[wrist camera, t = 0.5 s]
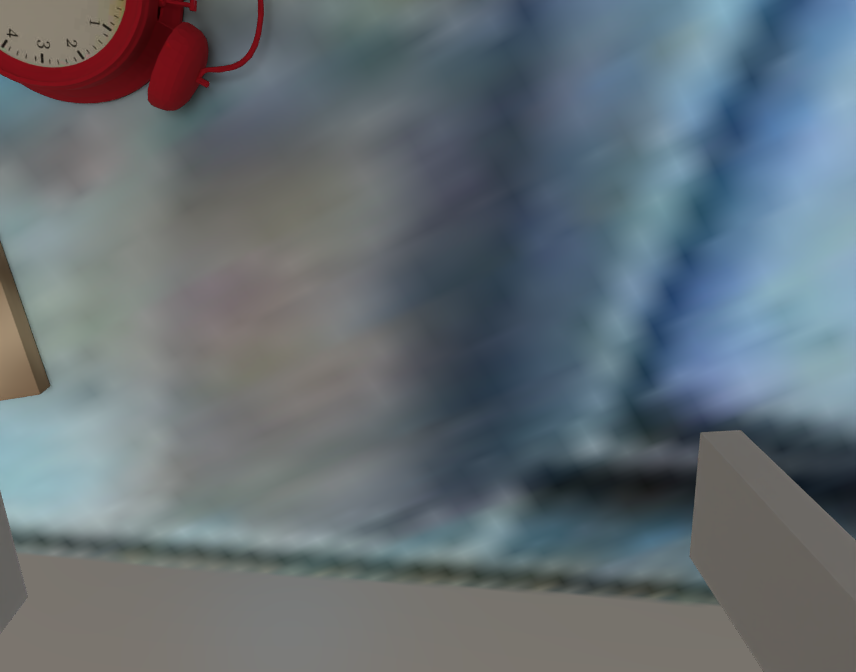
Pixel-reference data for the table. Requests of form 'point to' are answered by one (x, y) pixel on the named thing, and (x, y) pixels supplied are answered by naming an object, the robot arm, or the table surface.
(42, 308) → the table surface
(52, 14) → the alarm clock
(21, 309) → the post board
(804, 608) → the robot arm
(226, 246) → the table surface
